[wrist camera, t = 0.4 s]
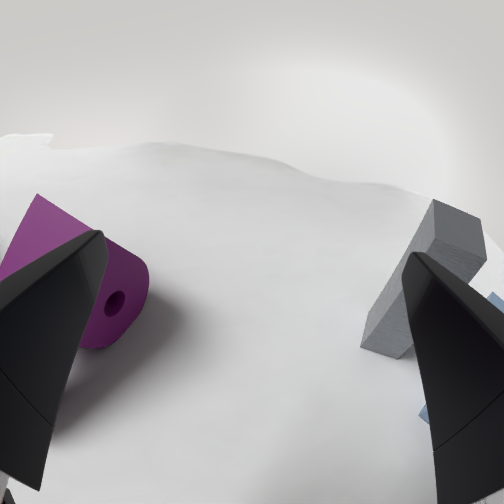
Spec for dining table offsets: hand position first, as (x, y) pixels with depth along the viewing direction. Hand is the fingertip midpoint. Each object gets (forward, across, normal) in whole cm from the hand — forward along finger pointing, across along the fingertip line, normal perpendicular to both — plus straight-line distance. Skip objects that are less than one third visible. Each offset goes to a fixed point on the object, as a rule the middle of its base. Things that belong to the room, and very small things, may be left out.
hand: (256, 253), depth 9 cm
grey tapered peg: (+10, -11, +15) cm, 21 cm away
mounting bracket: (+6, +16, +16) cm, 24 cm away
